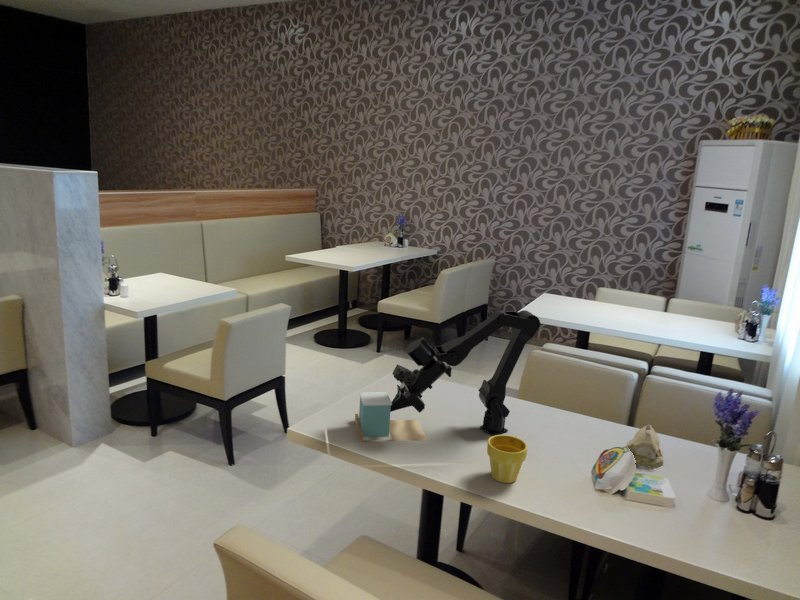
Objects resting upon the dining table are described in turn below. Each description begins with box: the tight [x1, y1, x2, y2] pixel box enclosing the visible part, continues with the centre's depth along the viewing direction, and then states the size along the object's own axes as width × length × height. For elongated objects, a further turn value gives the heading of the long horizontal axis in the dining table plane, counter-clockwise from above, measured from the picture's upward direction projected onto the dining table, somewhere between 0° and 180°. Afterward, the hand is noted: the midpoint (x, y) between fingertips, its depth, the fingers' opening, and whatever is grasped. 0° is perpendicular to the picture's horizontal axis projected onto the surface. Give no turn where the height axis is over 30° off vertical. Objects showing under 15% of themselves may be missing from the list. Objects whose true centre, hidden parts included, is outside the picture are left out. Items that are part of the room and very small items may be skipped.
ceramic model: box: [625, 424, 665, 468], centre depth 169 cm, size 14×11×10 cm
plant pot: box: [486, 434, 528, 484], centre depth 152 cm, size 10×10×10 cm
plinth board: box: [354, 413, 428, 443], centre depth 174 cm, size 20×14×3 cm
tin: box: [358, 391, 392, 437], centre depth 172 cm, size 8×8×11 cm
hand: (388, 410), depth 173 cm, fingers closed, pressing on tin
